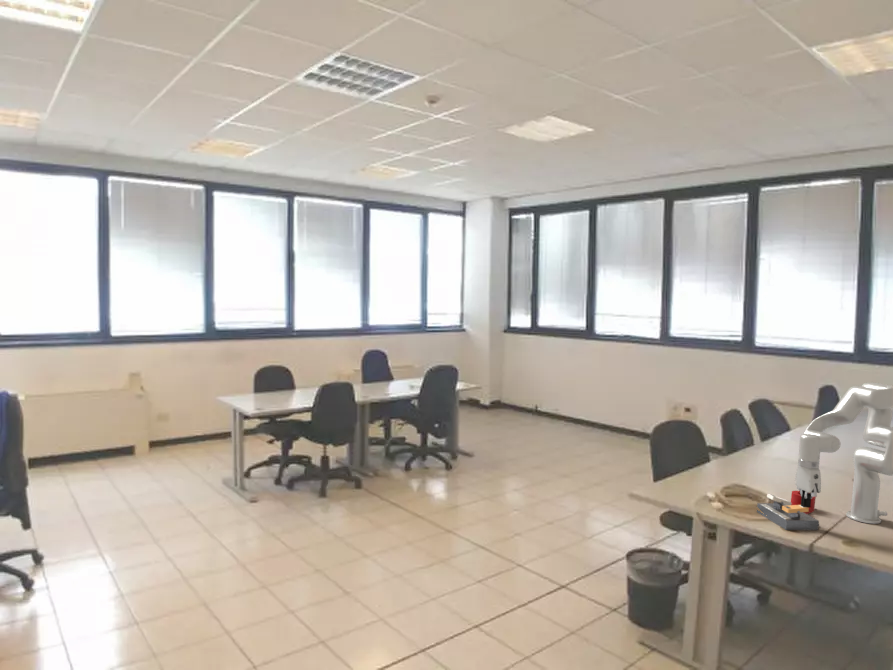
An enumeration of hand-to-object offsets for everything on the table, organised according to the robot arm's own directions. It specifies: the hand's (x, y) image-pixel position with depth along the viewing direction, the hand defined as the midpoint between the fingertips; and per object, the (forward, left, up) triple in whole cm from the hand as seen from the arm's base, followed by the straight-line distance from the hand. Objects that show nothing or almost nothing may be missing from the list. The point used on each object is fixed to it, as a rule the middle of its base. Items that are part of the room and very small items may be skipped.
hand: (805, 506), depth 253 cm
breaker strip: (+4, -5, -8) cm, 11 cm away
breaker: (+4, -11, -2) cm, 12 cm away
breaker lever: (+4, 0, -2) cm, 5 cm away
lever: (-11, -17, -8) cm, 22 cm away
